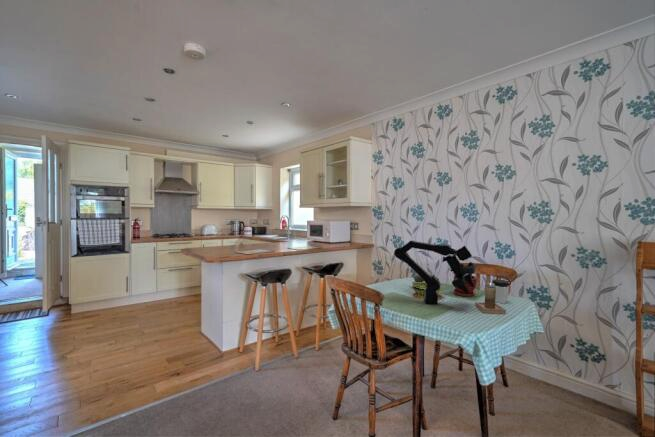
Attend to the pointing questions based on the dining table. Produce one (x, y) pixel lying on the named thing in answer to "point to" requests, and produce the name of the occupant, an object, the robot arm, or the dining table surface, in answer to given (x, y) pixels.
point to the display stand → (497, 309)
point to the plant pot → (470, 288)
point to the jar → (501, 290)
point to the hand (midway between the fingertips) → (471, 290)
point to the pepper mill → (490, 295)
